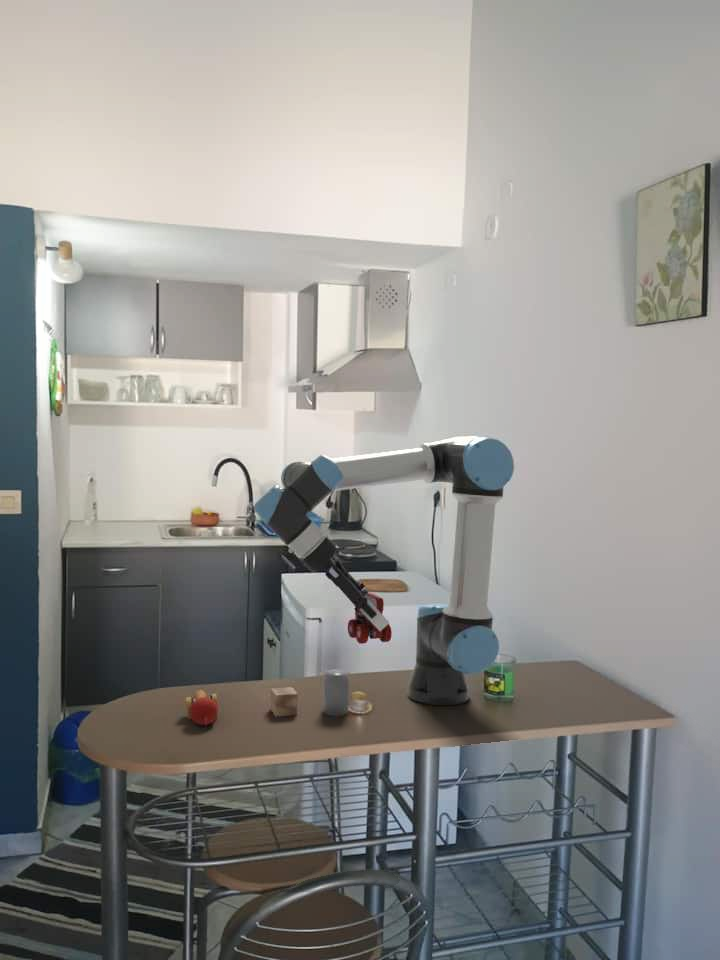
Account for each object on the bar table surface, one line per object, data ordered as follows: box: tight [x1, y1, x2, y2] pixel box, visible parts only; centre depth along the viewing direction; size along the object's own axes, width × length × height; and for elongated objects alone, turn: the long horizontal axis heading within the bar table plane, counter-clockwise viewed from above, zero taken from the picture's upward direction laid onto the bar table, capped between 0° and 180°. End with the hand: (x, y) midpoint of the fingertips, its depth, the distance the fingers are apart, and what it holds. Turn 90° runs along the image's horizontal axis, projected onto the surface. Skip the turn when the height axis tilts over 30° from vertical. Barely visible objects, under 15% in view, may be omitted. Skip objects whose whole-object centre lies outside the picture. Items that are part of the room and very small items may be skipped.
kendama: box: [185, 689, 220, 726], centre depth 189 cm, size 8×6×18 cm
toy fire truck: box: [347, 589, 392, 645], centre depth 182 cm, size 7×12×10 cm, turn 21°
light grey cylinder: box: [322, 668, 351, 717], centre depth 194 cm, size 6×6×9 cm
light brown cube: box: [269, 686, 298, 718], centre depth 192 cm, size 5×5×5 cm
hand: (381, 620), depth 181 cm, fingers closed on toy fire truck, 11 cm apart
